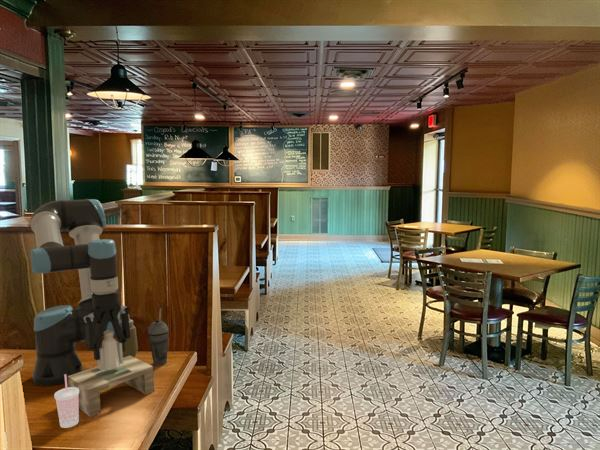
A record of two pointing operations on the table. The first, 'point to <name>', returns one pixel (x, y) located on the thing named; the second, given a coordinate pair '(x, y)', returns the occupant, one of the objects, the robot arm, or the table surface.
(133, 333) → the squeeze bottle
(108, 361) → the pepper shaker
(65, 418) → the beverage cup
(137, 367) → the cut-out shelf
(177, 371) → the table surface
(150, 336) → the beverage cup
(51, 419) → the table surface
